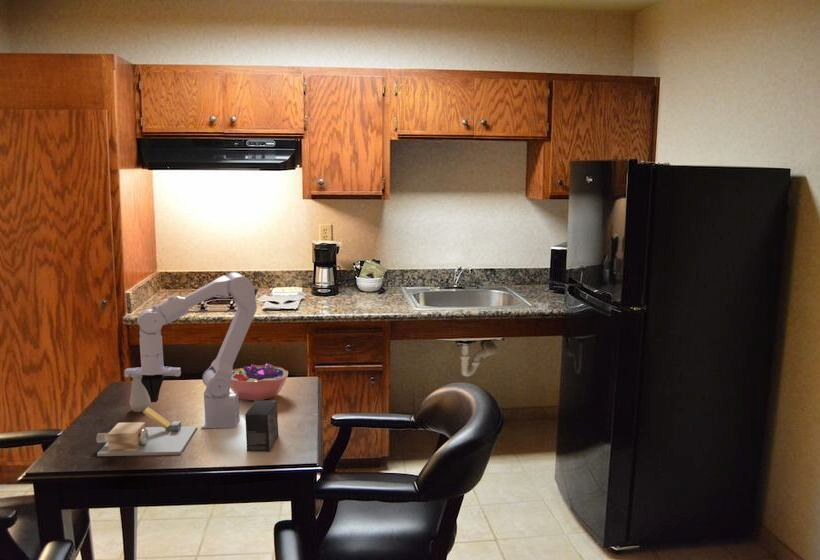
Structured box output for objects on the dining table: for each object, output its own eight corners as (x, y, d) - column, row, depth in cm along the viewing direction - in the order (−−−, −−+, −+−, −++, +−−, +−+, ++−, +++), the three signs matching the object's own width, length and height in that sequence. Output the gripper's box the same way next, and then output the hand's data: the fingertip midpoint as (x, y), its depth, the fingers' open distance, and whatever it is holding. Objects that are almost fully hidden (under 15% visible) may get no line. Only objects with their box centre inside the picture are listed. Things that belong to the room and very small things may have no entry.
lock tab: (171, 426, 188) (173, 424, 188) (167, 431, 185) (169, 428, 185) (146, 408, 187) (148, 406, 187) (142, 413, 183) (144, 410, 183)
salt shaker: (143, 414, 201) (140, 372, 198) (125, 412, 202) (123, 371, 200) (154, 407, 206) (151, 366, 204) (137, 405, 207) (134, 365, 205)
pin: (148, 441, 179) (147, 426, 178) (143, 447, 175) (142, 432, 174) (101, 441, 178) (100, 427, 177) (95, 448, 174) (94, 433, 174)
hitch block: (146, 438, 181) (145, 422, 180) (136, 450, 173) (135, 433, 172) (119, 439, 180) (118, 422, 179) (108, 451, 173) (107, 433, 172)
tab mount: (181, 427, 188) (180, 421, 188) (178, 432, 185) (177, 425, 185) (173, 428, 188) (173, 421, 188) (170, 432, 185) (170, 425, 185)
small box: (255, 435, 185) (254, 399, 184) (279, 436, 185) (278, 399, 183) (245, 451, 175) (243, 413, 173) (270, 452, 175) (268, 413, 173)
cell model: (234, 388, 224) (233, 356, 222) (294, 390, 223) (293, 357, 221) (218, 406, 207) (217, 371, 205) (282, 408, 206) (281, 372, 204)
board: (197, 428, 190) (197, 426, 189) (180, 454, 173) (180, 451, 173) (121, 430, 188) (121, 427, 188) (97, 456, 172) (97, 453, 171)
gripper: (182, 349, 187) (185, 395, 189) (129, 349, 186) (132, 396, 188) (175, 356, 180) (178, 404, 182) (120, 356, 179) (123, 405, 181)
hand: (154, 401), depth 185 cm, fingers closed
